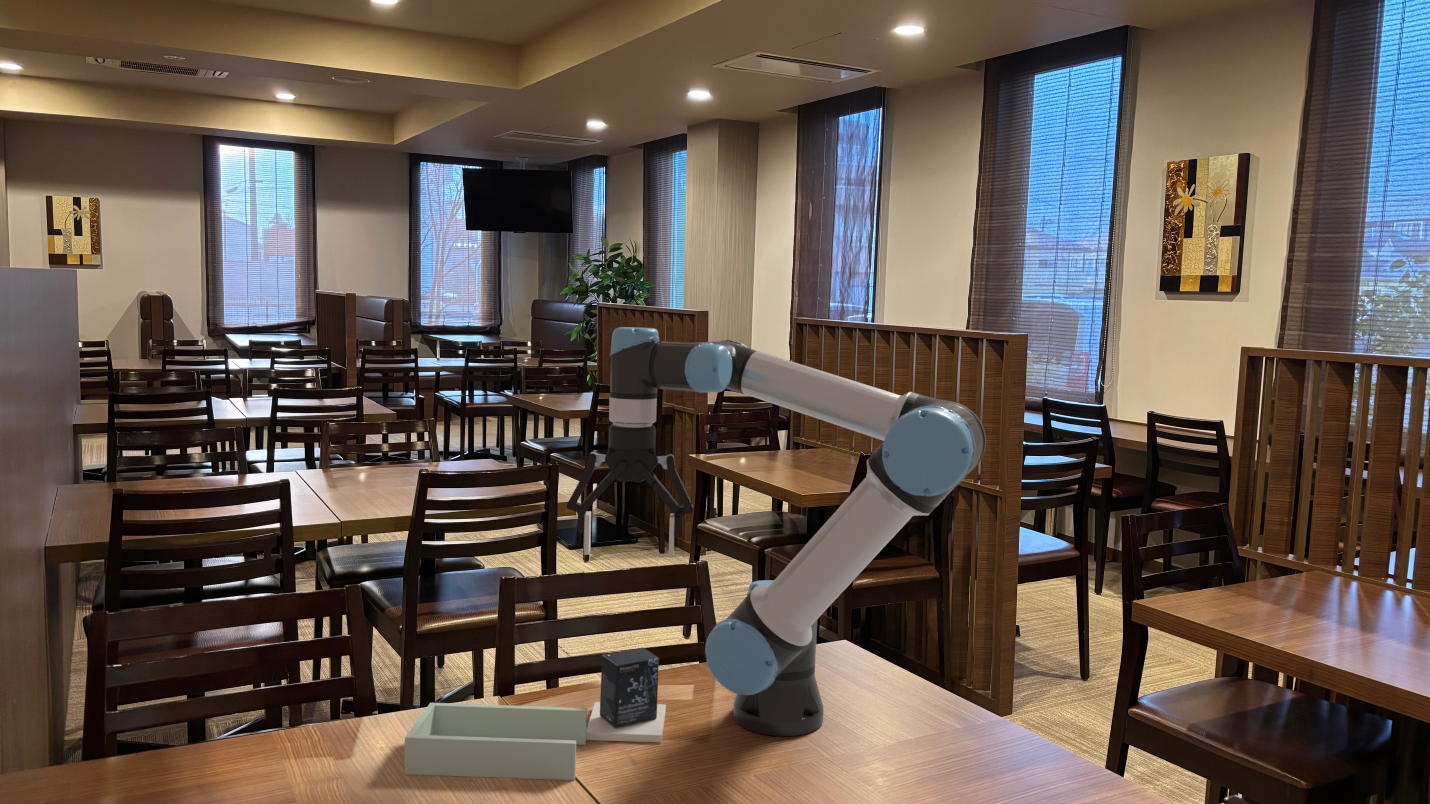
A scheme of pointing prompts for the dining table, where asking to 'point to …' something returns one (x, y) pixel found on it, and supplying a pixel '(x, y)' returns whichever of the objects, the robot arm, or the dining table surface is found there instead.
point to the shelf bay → (496, 741)
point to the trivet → (626, 728)
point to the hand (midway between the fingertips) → (629, 554)
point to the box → (629, 687)
